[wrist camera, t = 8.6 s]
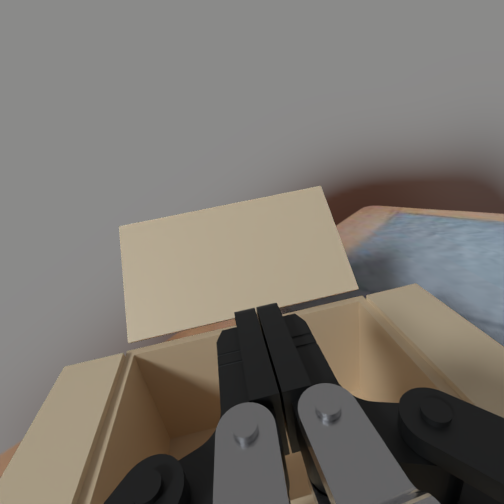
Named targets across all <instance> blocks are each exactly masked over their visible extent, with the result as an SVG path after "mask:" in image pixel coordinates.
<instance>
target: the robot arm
mask: <svg viewBox="0 0 504 504" xmlns="http://www.w3.org/2000/svg"><path fill="white" fill-rule="evenodd" d="M256 310H257V314H256V311H255V308H250V309H246V310H242V311H237V312H234V314H235V320H236V326H237V327H235V328H230V329H226V330H222V331H221V334H220V336H219V338H218V340H217V342H216V343H217V356H218V357H217V359H218V375H219V391H220V406H221V415H220V420H219V423H218V425H217V428H216V430H215V431H214V433H213V434H212V436H211V437H210V438H209V439H208V440H207V441H206V442H205V443H204V444H203V445H202V446H200V447H199V448H197V449H196V450H194V451H193V452H191V453H190V454H188V455H186V456H185V457H183V458H182V459H180V460H177V459H176V458H174V457H173V456H171V455H167V454H157V455H153V456H150V457H147V458H146V459H144V460H142V461H141V462H139V463H138V464H136V465H135V466H134V467H133V468H132V469H131V470H130V471H129V472H128V473H127V475H126V476H125V477H124V478H123V480H122V481H121V482H120V483H119V485H118V486H117V487H116V488H115V490H114V491H113V492H112V493H111V495H110V496H109V497H108V499H107V500H106V501H105V502H104V504H291V502H290V496H289V490H290V482H289V476H288V471H287V465H286V460H285V455H289V454H290V452H289V446H288V440H289V443H290V447H291V451H292V453H296V452H299V451H301V454H302V458H303V461H304V464H305V467H306V471H307V479H308V484H309V487H310V490H311V493H312V495H313V498H314V501H315V504H504V418H503V417H500V416H498V415H496V414H493V413H491V412H489V411H486V410H484V409H482V408H479V407H477V406H475V405H472V404H470V403H468V402H466V401H463V400H461V399H459V398H456V397H454V396H452V395H449V394H447V393H445V392H442V391H439V390H436V389H432V388H425V387H419V388H414V389H410V390H408V391H407V392H405V393H404V394H403V395H402V397H401V398H400V401H399V403H390V402H374V401H367V400H363V399H360V398H357V397H355V396H353V395H352V394H351V393H350V392H349V391H347V390H346V389H344V388H343V387H342V386H341V385H340V384H339V382H338V381H337V379H336V377H335V375H334V373H333V372H332V370H331V368H330V366H329V364H328V362H327V360H326V358H325V357H324V355H323V353H322V351H321V349H320V347H319V345H318V344H317V342H316V340H315V338H314V336H313V334H312V332H311V330H310V328H309V327H308V325H307V323H306V321H305V320H303V319H302V318H301V317H299V316H298V315H296V314H295V313H294V314H290V315H286V316H282V314H281V311H280V309H279V307H278V304H277V303H272V304H268V305H263V306H259V307H256ZM257 316H258V317H257ZM286 432H287V435H286ZM287 436H288V440H287Z"/></svg>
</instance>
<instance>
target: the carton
mask: <svg viewBox="0 0 504 504" xmlns="http://www.w3.org/2000/svg"><path fill="white" fill-rule="evenodd" d="M294 313H295V314H296V315H298V316H299V317H301V318H302V319H303V320H305V321H306V323H307V325H308V327H309V328H310V330H311V332H312V334H313V336H314V338H315V340H316V342H317V344H318V345H319V347H320V349H321V351H322V353H323V355H324V357H325V358H326V360H327V362H328V364H329V366H330V368H331V370H332V372H333V373H334V375H335V377H336V379H337V381H338V382H339V384H340V385H341V386H342V387H343V388H344V389H346V390H347V391H349V392H350V393H351V394H352V395H353V396H355V397H357V398H360V399H363V400H367V401H374V402H390V403H399V401H400V398H401V397H402V395H403V394H404V393H405V392H407V391H408V390H410V389H414V388H419V387H425V388H432V389H436V390H439V391H442V392H445V393H447V394H449V395H452V396H454V397H456V398H459V399H461V400H463V401H466V402H468V403H470V404H472V405H475V406H477V407H479V408H482V409H484V410H486V411H489V412H491V413H493V414H496V415H498V416H500V417H503V418H504V347H503V346H502V345H501V344H499V343H498V342H496V341H495V340H494V339H492V338H491V337H490V336H488V335H487V334H485V333H484V332H483V331H481V330H480V329H478V328H477V327H476V326H474V325H473V324H472V323H470V322H469V321H467V320H466V319H465V318H463V317H462V316H460V315H459V314H458V313H456V312H455V311H454V310H452V309H451V308H449V307H448V306H447V305H445V304H444V303H442V302H441V301H440V300H438V299H437V298H435V297H434V296H433V295H431V294H430V293H429V292H427V291H426V290H424V289H423V288H422V287H420V286H419V285H417V284H411V285H407V286H403V287H399V288H394V289H390V290H386V291H382V292H378V293H373V294H369V295H366V299H365V298H364V297H363V296H358V297H354V298H349V299H345V300H341V301H337V302H332V303H328V304H324V305H320V306H316V307H311V308H307V309H303V310H299V311H294V312H290V313H286V314H282V316H286V315H290V314H294ZM235 327H237V326H236V325H235V326H231V327H227V328H223V329H218V330H214V331H210V332H206V333H201V334H197V335H193V336H189V337H185V338H180V339H176V340H172V341H168V342H163V343H159V344H155V345H151V346H147V347H142V348H139V349H134V350H130V351H127V353H126V356H124V353H120V354H116V355H112V356H107V357H103V358H99V359H95V360H91V361H87V362H82V363H78V364H74V365H69V366H65V367H64V368H63V370H62V372H61V374H60V375H59V377H58V379H57V381H56V382H55V384H54V386H53V387H52V389H51V391H50V393H49V395H48V397H47V398H46V400H45V402H44V403H43V405H42V407H41V408H40V410H39V412H38V414H37V416H36V417H35V419H34V421H33V422H32V424H31V426H30V428H29V429H28V431H27V433H26V435H25V437H24V438H23V440H22V442H21V443H20V445H19V447H18V449H17V450H16V452H15V454H14V456H13V457H12V459H11V461H10V463H9V464H8V466H7V468H6V470H5V471H4V473H3V475H2V477H1V478H0V504H104V502H105V501H106V500H107V499H108V497H109V496H110V495H111V493H112V492H113V491H114V490H115V488H116V487H117V486H118V485H119V483H120V482H121V481H122V480H123V478H124V477H125V476H126V475H127V473H128V472H129V471H130V470H131V469H132V468H133V467H134V466H135V465H136V464H138V463H139V462H141V461H142V460H144V459H146V458H147V457H150V456H153V455H157V454H167V455H171V456H173V457H174V458H176V459H177V460H180V459H182V458H183V457H185V456H186V455H188V454H190V453H191V452H193V451H194V450H196V449H197V448H199V447H200V446H202V445H203V444H204V443H205V442H206V441H207V440H208V439H209V438H210V437H211V436H212V434H213V433H214V431H215V430H216V428H217V425H218V423H219V420H220V415H221V406H220V391H219V375H218V359H217V357H218V356H217V343H216V342H217V340H218V338H219V336H220V334H221V331H222V330H226V329H230V328H235ZM286 435H287V432H286ZM287 440H288V436H287ZM288 446H289V452H290V454H289V455H285V460H286V465H287V471H288V476H289V482H290V490H289V496H290V502H291V504H315V501H314V498H313V495H312V493H311V490H310V487H309V484H308V479H307V471H306V467H305V464H304V461H303V458H302V454H301V451H299V452H296V453H292V451H291V447H290V443H289V440H288Z"/></svg>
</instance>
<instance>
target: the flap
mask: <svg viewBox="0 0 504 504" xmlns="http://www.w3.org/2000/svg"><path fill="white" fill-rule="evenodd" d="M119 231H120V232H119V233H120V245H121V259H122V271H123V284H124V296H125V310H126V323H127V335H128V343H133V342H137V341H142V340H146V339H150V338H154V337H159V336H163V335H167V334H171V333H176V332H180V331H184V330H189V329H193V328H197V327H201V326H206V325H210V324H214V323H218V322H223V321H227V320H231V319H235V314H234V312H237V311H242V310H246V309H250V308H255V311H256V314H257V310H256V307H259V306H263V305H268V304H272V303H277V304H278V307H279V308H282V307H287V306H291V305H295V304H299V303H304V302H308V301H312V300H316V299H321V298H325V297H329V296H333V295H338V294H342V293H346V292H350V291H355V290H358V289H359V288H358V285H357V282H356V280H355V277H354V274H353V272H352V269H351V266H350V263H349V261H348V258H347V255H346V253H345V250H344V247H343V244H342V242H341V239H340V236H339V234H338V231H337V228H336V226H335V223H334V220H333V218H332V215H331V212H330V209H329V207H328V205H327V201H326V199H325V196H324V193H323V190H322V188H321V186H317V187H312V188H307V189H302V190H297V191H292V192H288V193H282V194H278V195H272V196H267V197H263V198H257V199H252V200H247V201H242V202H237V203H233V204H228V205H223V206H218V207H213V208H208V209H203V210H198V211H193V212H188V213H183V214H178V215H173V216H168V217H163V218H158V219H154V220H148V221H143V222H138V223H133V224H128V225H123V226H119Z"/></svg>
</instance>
